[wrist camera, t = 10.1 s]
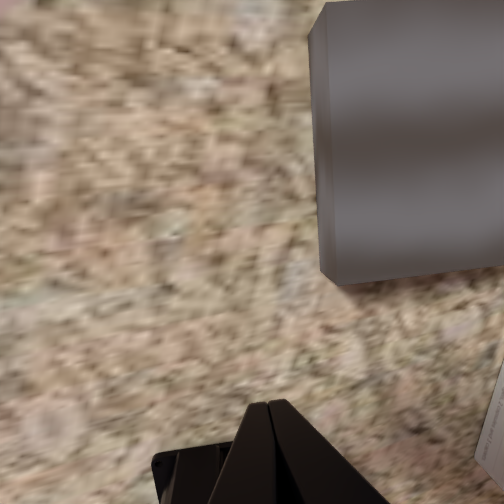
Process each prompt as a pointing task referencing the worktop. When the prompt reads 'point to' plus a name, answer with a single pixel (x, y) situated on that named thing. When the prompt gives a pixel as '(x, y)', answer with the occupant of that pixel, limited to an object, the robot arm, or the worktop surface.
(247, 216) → the worktop surface
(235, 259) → the worktop surface
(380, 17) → the plate
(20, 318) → the worktop surface
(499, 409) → the supplement box
